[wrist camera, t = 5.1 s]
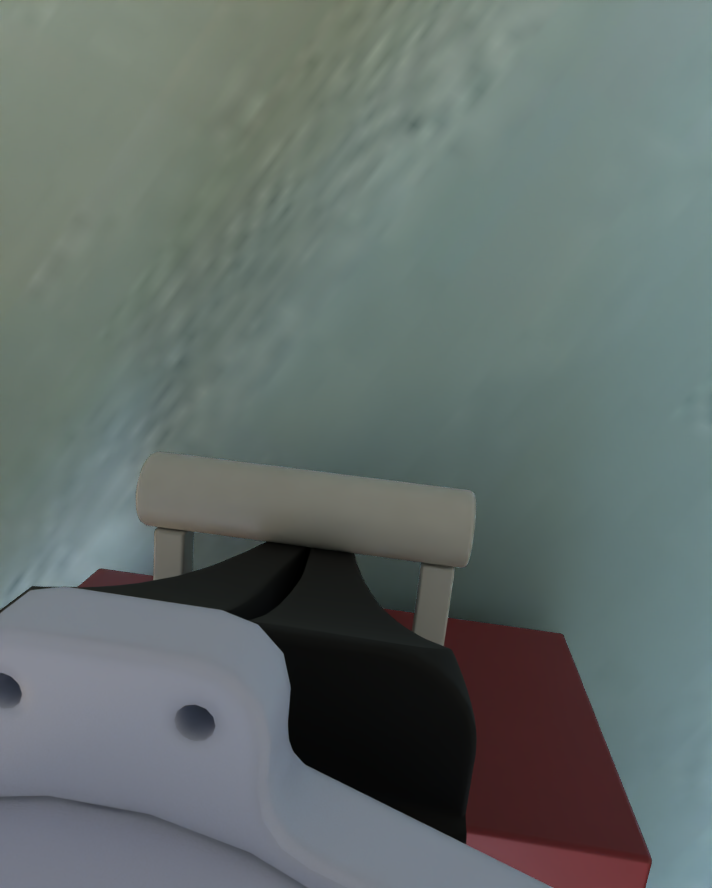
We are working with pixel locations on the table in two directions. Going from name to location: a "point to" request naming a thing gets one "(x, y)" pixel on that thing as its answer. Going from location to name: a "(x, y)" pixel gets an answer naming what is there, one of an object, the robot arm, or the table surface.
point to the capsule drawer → (473, 643)
